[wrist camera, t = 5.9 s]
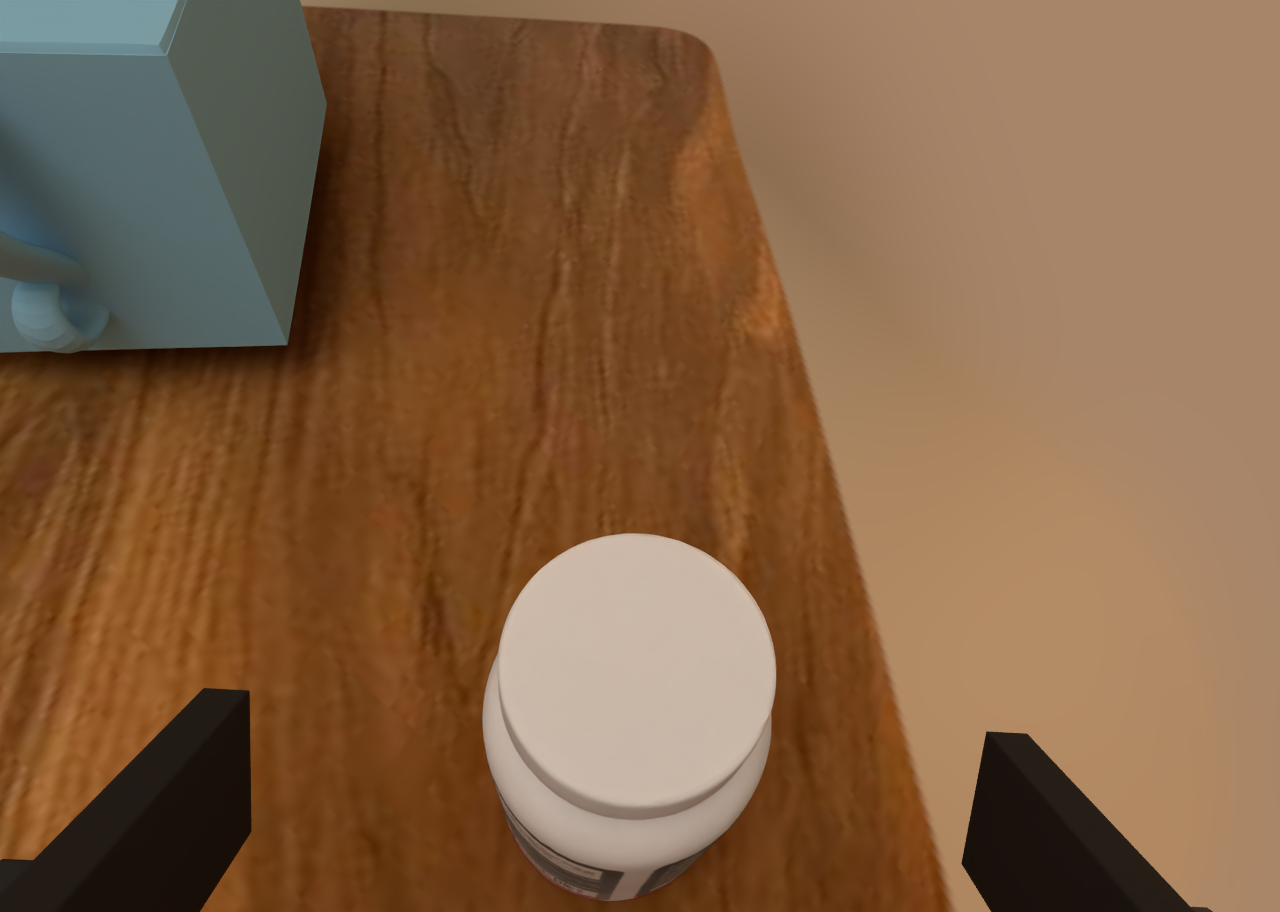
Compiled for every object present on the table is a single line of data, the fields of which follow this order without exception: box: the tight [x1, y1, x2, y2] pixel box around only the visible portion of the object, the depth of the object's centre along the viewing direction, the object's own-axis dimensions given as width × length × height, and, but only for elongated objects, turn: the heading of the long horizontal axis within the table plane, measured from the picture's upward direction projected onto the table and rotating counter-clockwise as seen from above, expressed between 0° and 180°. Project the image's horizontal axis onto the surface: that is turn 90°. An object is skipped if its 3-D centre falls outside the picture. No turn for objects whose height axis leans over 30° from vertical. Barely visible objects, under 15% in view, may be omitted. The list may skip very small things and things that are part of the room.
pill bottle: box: [483, 533, 776, 901], centre depth 18 cm, size 6×6×10 cm
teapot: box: [0, 0, 327, 354], centre depth 26 cm, size 22×11×14 cm, turn 6°
